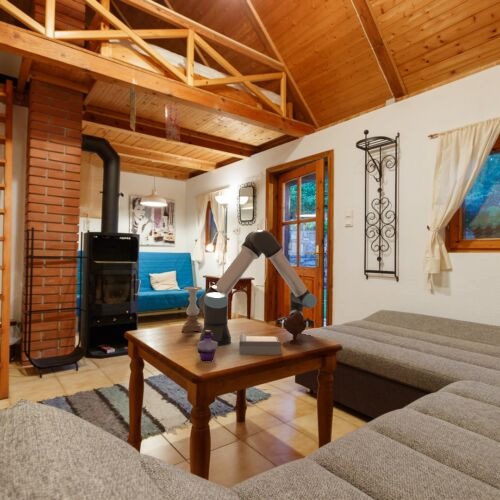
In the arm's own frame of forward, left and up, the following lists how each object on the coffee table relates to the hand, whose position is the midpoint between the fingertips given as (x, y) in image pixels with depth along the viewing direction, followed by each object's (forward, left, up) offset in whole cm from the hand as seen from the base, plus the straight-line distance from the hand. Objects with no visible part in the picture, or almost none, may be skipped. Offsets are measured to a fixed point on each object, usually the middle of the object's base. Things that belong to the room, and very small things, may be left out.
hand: (294, 326), depth 167 cm
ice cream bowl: (+1, +4, -9) cm, 10 cm away
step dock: (-17, -7, -9) cm, 21 cm away
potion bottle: (-39, -24, -9) cm, 47 cm away
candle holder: (-53, +30, -9) cm, 62 cm away
